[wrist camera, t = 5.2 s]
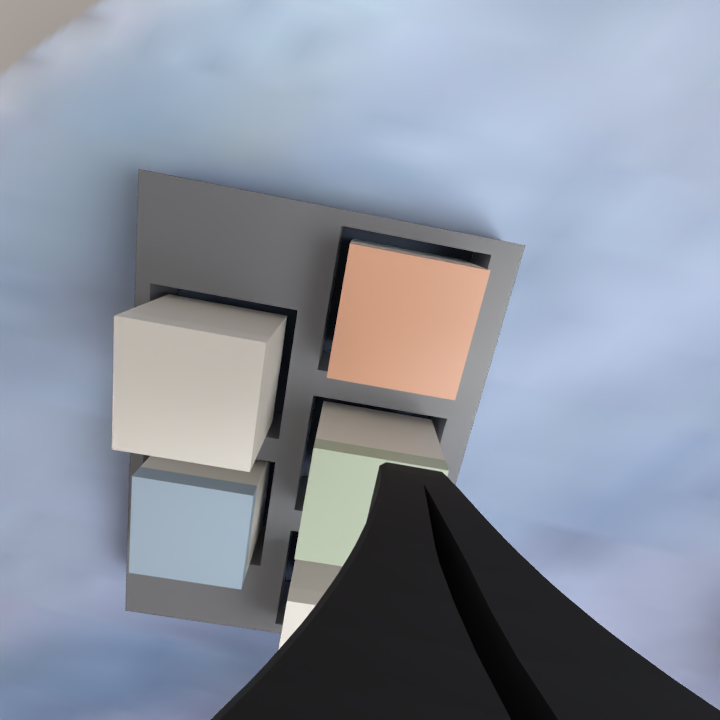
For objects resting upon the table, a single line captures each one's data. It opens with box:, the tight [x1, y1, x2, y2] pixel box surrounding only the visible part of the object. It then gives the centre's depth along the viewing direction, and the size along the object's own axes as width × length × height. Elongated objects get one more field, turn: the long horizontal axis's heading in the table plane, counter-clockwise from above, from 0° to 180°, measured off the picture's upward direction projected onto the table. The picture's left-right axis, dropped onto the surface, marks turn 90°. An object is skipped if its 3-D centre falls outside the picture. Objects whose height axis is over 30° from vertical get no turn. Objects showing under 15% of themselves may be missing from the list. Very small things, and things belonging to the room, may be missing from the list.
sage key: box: [294, 401, 449, 566], centre depth 16 cm, size 4×4×4 cm
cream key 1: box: [112, 294, 287, 472], centre depth 15 cm, size 4×4×4 cm
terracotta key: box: [327, 238, 490, 400], centre depth 15 cm, size 4×4×4 cm
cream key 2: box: [279, 559, 342, 649], centre depth 18 cm, size 4×4×4 cm
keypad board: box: [125, 169, 525, 633], centre depth 18 cm, size 18×12×2 cm
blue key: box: [129, 456, 271, 589], centre depth 18 cm, size 4×4×4 cm
